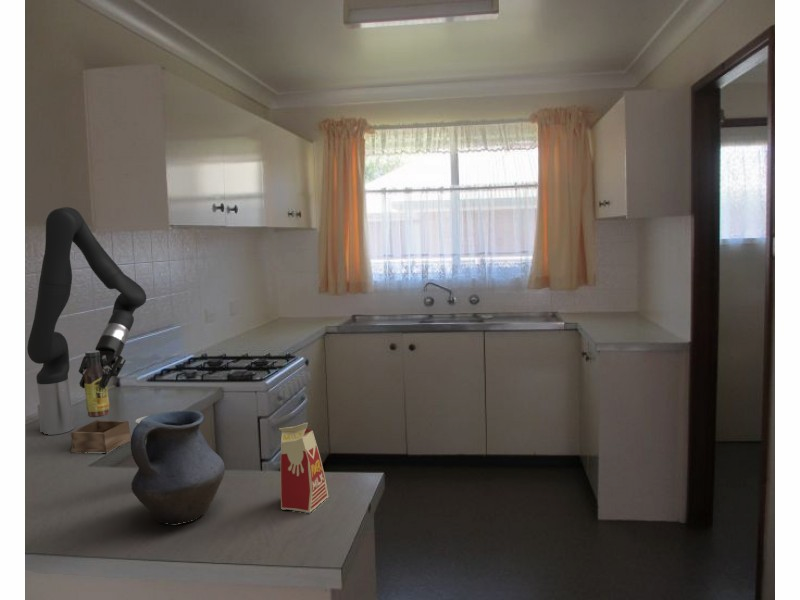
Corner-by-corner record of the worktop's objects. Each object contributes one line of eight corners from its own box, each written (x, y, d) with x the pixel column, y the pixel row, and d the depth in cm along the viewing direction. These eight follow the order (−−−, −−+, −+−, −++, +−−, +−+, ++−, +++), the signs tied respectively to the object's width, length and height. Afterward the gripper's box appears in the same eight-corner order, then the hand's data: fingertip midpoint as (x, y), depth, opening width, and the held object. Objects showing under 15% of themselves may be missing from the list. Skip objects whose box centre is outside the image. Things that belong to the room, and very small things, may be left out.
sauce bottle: (101, 418, 197) (93, 354, 194) (83, 418, 198) (75, 354, 196) (115, 411, 203) (107, 349, 201) (97, 411, 205) (89, 349, 202)
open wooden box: (71, 452, 198) (68, 432, 197) (98, 438, 210) (96, 419, 209) (106, 454, 195) (104, 434, 194) (132, 439, 207) (130, 420, 206)
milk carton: (328, 497, 157) (323, 417, 155) (311, 514, 149) (305, 429, 146) (294, 493, 160) (289, 415, 158) (276, 510, 152) (269, 427, 149)
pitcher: (246, 503, 156) (238, 402, 153) (182, 546, 137) (171, 431, 133) (179, 491, 165) (170, 395, 162) (110, 531, 145) (98, 423, 142)
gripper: (86, 334, 207) (64, 380, 197) (126, 333, 203) (105, 381, 193) (99, 347, 212) (78, 393, 203) (138, 346, 209) (119, 393, 199)
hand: (92, 386), depth 198 cm, fingers closed on sauce bottle, 6 cm apart
